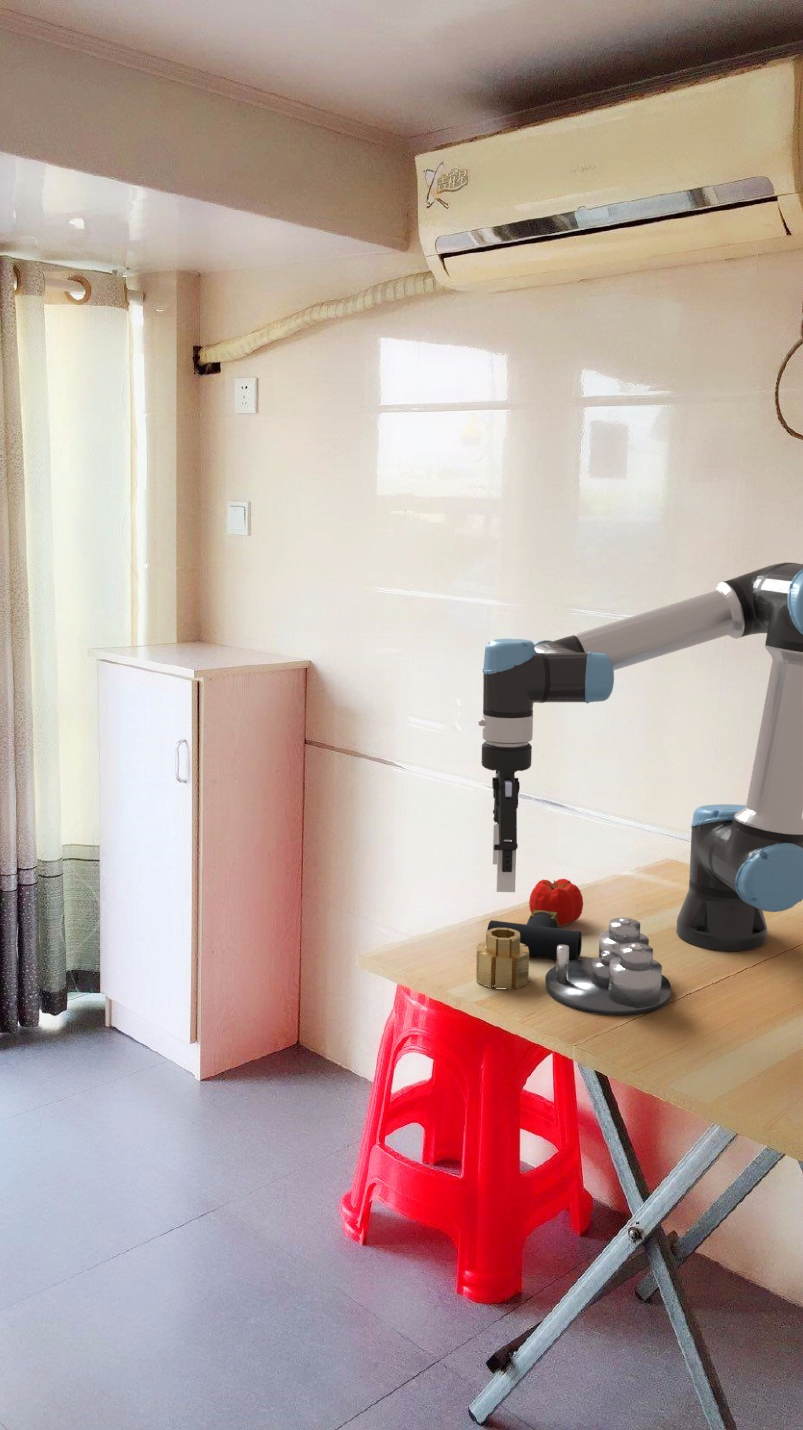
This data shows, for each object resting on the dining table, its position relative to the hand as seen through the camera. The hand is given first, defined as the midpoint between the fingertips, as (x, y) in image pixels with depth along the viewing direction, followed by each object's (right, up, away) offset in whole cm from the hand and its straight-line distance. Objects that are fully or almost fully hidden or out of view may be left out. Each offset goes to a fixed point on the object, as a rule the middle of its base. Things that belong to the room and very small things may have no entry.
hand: (503, 877), depth 179 cm
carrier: (+16, -17, -1) cm, 23 cm away
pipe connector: (+7, -14, +17) cm, 23 cm away
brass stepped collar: (0, -16, +3) cm, 17 cm away
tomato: (+12, -12, +28) cm, 33 cm away
